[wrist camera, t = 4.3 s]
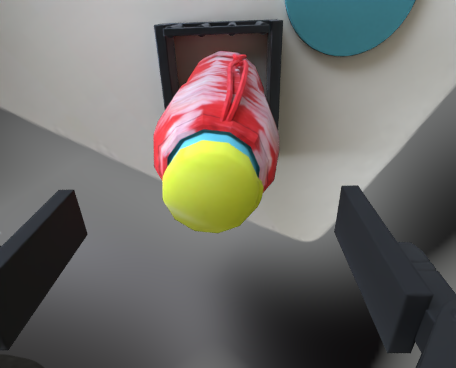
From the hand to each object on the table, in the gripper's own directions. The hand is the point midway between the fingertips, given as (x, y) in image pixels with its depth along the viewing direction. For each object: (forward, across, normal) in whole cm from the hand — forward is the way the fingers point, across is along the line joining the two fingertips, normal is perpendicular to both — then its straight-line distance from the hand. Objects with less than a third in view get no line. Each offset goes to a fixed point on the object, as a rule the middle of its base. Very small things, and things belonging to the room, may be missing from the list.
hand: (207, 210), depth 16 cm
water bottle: (+24, 0, 0) cm, 24 cm away
